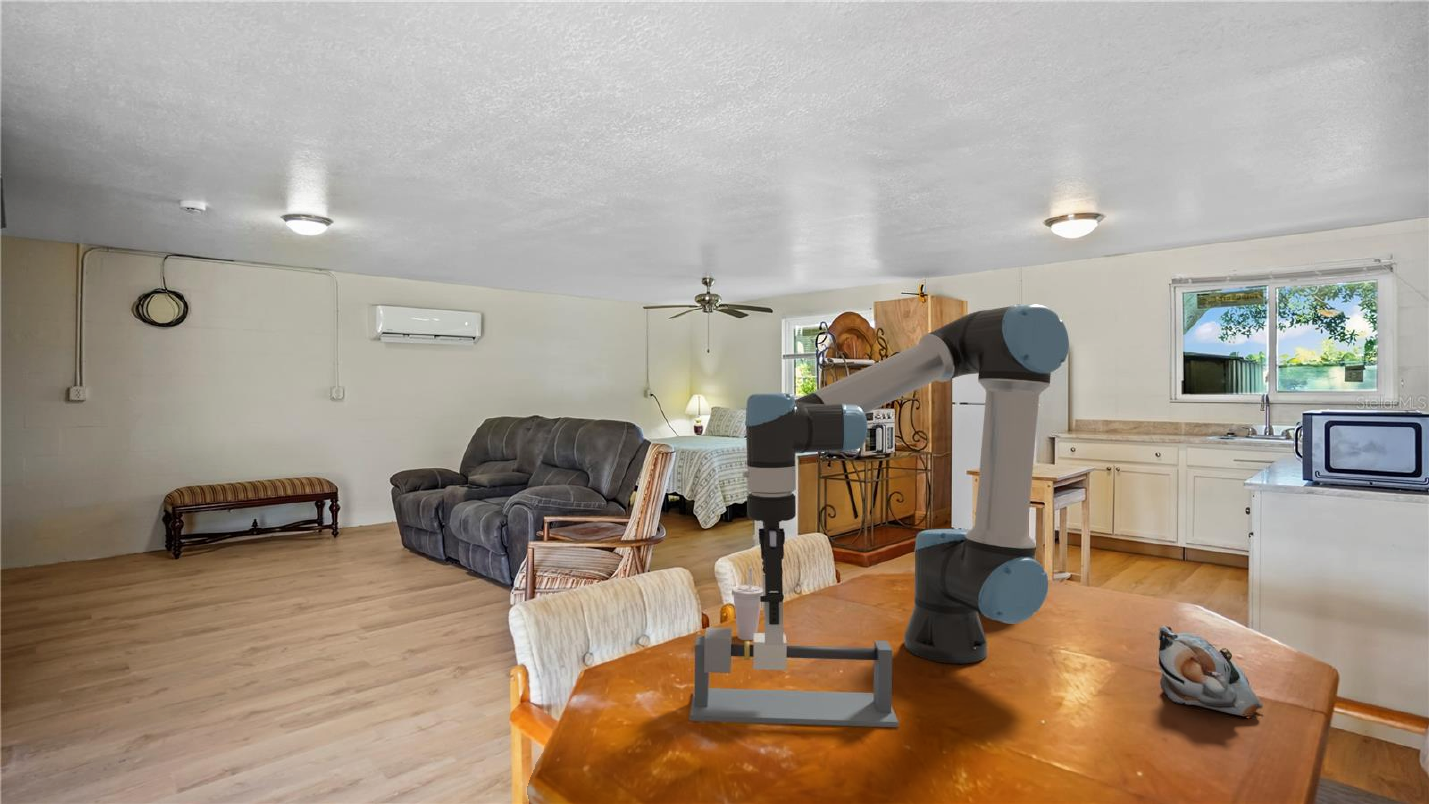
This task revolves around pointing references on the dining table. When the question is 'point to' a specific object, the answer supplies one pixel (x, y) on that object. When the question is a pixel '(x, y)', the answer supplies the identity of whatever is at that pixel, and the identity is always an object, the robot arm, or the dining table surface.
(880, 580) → the dining table surface
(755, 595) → the smoothie
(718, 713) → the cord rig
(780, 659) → the sleeve
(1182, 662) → the gray steam iron
